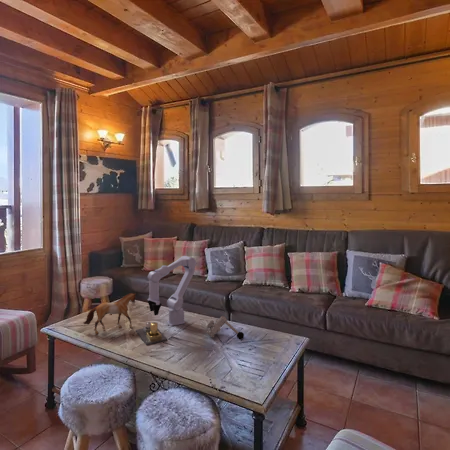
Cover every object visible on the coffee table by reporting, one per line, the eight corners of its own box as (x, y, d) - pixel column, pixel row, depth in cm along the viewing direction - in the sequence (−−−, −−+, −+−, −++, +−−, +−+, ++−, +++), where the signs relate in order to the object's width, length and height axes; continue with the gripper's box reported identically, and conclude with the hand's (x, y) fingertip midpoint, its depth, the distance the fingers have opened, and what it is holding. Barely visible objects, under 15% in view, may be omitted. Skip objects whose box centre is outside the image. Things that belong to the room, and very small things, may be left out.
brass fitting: (156, 335, 187) (156, 321, 186) (158, 337, 183) (158, 324, 183) (149, 336, 185) (149, 323, 184) (151, 339, 181) (151, 325, 180)
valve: (226, 356, 184) (243, 340, 180) (201, 332, 185) (217, 315, 181) (230, 347, 194) (246, 331, 190) (206, 324, 195) (221, 308, 191)
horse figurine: (136, 323, 207) (135, 291, 205) (138, 327, 200) (138, 295, 198) (83, 331, 193) (82, 298, 191) (84, 336, 186) (83, 302, 184)
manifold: (155, 327, 200) (155, 317, 200) (167, 340, 182) (167, 330, 182) (135, 331, 194) (135, 321, 194) (146, 345, 176) (146, 334, 176)
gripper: (144, 289, 201) (144, 310, 202) (151, 295, 188) (151, 318, 189) (155, 287, 204) (155, 308, 205) (163, 293, 192) (163, 315, 193)
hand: (154, 312), depth 198 cm, fingers open, 7 cm apart
